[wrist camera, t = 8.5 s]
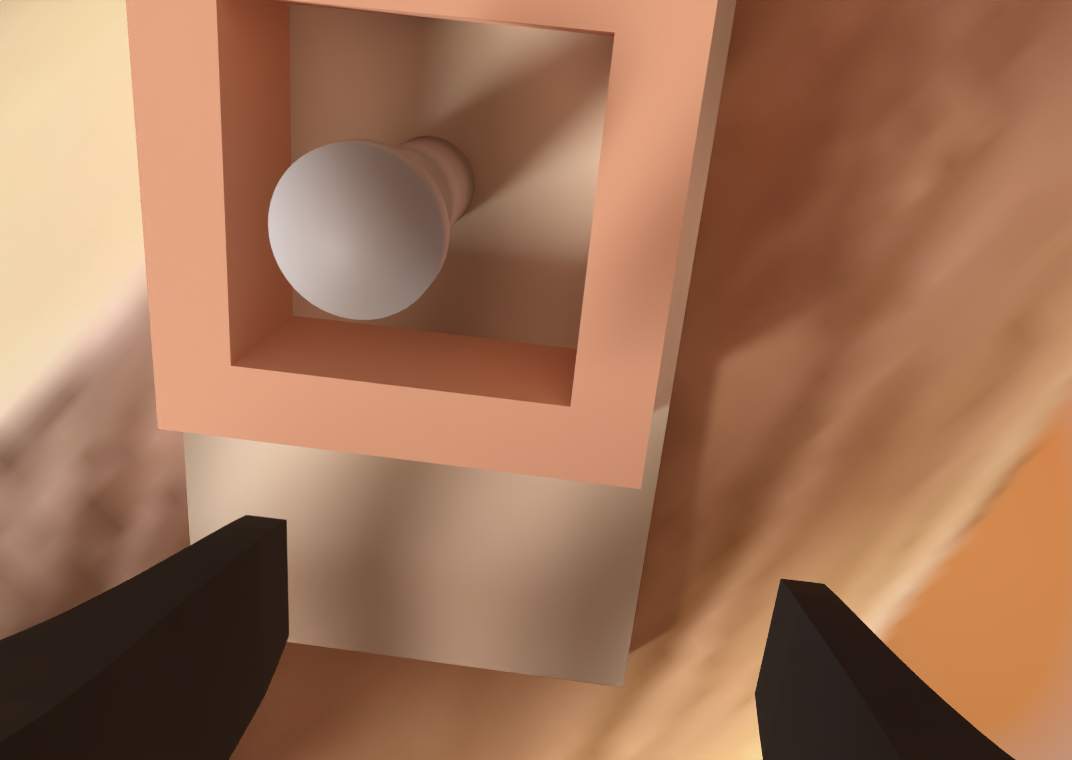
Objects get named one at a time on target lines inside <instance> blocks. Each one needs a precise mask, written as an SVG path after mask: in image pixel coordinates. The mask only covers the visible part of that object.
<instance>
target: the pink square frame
mask: <svg viewBox="0 0 1072 760" xmlns="http://www.w3.org/2000/svg"><path fill="white" fill-rule="evenodd" d="M717 2H718V0H126V9H127V22H128V35H129V49H130V62H131V75H132V89H133V102H134V115H135V128H136V142H137V155H138V168H139V182H140V195H141V208H142V222H143V235H144V248H145V262H146V275H147V288H148V301H149V315H150V328H151V341H152V355H153V368H154V381H155V395H156V408H157V421H158V429H163V430H171V431H179V432H187V433H195V434H203V435H211V436H219V437H227V438H235V439H243V440H251V441H259V442H267V443H275V444H283V445H291V446H299V447H307V448H315V449H323V450H331V451H339V452H347V453H355V454H363V455H371V456H379V457H387V458H395V459H403V460H411V461H419V462H427V463H435V464H443V465H451V466H459V467H467V468H475V469H483V470H491V471H499V472H507V473H516V474H524V475H532V476H540V477H548V478H556V479H564V480H572V481H580V482H588V483H596V484H604V485H612V486H620V487H628V488H636V489H641V484H642V478H643V472H644V465H645V459H646V453H647V446H648V440H649V434H650V427H651V421H652V415H653V408H654V402H655V396H656V389H657V383H658V377H659V370H660V364H661V357H662V351H663V345H664V338H665V332H666V326H667V319H668V313H669V307H670V300H671V294H672V288H673V281H674V275H675V269H676V262H677V256H678V250H679V243H680V237H681V231H682V224H683V218H684V212H685V205H686V199H687V193H688V186H689V180H690V174H691V167H692V161H693V155H694V148H695V142H696V136H697V129H698V123H699V116H700V110H701V104H702V97H703V91H704V85H705V78H706V72H707V66H708V59H709V53H710V47H711V40H712V34H713V28H714V21H715V15H716V9H717ZM289 4H297V5H307V6H317V7H327V8H337V9H347V10H357V11H367V12H377V13H387V14H396V15H406V16H416V17H426V18H436V19H446V20H456V21H466V22H476V23H486V24H496V25H506V26H516V27H526V28H536V29H546V30H556V31H566V32H576V33H586V34H596V35H606V36H614V43H613V52H612V60H611V69H610V77H609V85H608V94H607V102H606V111H605V119H604V128H603V136H602V144H601V153H600V161H599V170H598V178H597V187H596V195H595V203H594V212H593V220H592V229H591V237H590V246H589V254H588V262H587V271H586V279H585V288H584V296H583V305H582V313H581V321H580V330H579V338H578V347H577V349H573V348H565V347H556V346H548V345H539V344H531V343H522V342H514V341H505V340H497V339H488V338H480V337H471V336H463V335H454V334H446V333H437V332H429V331H420V330H412V329H403V328H395V327H386V326H378V325H369V324H361V323H352V322H344V321H335V320H327V319H318V318H310V317H301V316H293V295H292V285H291V284H290V283H289V282H288V280H287V279H286V277H285V276H284V274H283V273H282V271H281V270H280V268H279V266H278V264H277V261H276V259H275V257H274V254H273V251H272V248H271V244H270V239H269V231H268V213H269V208H270V202H271V199H272V196H273V193H274V190H275V188H276V186H277V184H278V182H279V180H280V179H281V177H282V176H283V174H284V173H285V172H286V171H287V169H288V168H289V167H290V166H291V111H290V19H289Z"/></svg>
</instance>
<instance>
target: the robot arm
mask: <svg viewBox="0 0 1072 760" xmlns="http://www.w3.org/2000/svg"><path fill="white" fill-rule="evenodd" d="M288 637H289V604H288V556H287V520H285V519H276V518H268V517H260V516H251V515H245V516H243V517H241V518H239V519H237V520H235V521H233V522H231V523H229V524H227V525H225V526H224V527H222V528H220V529H218V530H216V531H215V532H213V533H211V534H209V535H208V536H206V537H204V538H202V539H201V540H199V541H197V542H195V543H194V544H192V545H190V546H188V547H187V548H185V549H183V550H181V551H180V552H178V553H176V554H174V555H173V556H171V557H169V558H167V559H165V560H164V561H162V562H160V563H158V564H157V565H155V566H153V567H151V568H149V569H148V570H146V571H144V572H142V573H141V574H139V575H137V576H135V577H133V578H131V579H129V580H127V581H126V582H124V583H122V584H120V585H118V586H116V587H114V588H112V589H110V590H108V591H106V592H104V593H102V594H100V595H98V596H96V597H94V598H92V599H90V600H88V601H86V602H84V603H82V604H80V605H79V606H77V607H75V608H73V609H71V610H69V611H66V612H64V613H62V614H60V615H58V616H56V617H54V618H51V619H49V620H47V621H45V622H43V623H40V624H38V625H36V626H34V627H31V628H29V629H26V630H24V631H22V632H19V633H17V634H14V635H12V636H10V637H7V638H5V639H2V640H0V760H229V758H230V756H231V755H232V753H233V751H234V749H235V748H236V746H237V744H238V742H239V741H240V739H241V737H242V735H243V733H244V732H245V730H246V728H247V726H248V725H249V723H250V721H251V719H252V718H253V716H254V714H255V712H256V710H257V709H258V707H259V705H260V703H261V701H262V700H263V698H264V696H265V694H266V691H267V689H268V686H269V684H270V682H271V679H272V677H273V675H274V672H275V670H276V667H277V665H278V662H279V660H280V657H281V655H282V652H283V650H284V647H285V644H286V642H287V639H288ZM755 698H756V707H757V716H758V725H759V733H760V741H761V748H762V756H763V760H1015V759H1014V758H1012V757H1011V756H1010V755H1008V754H1007V753H1006V752H1004V751H1003V750H1002V749H1000V748H999V747H998V746H997V745H996V744H994V743H993V742H992V741H991V740H989V739H988V738H987V737H986V736H984V735H983V734H982V733H981V732H979V731H978V730H977V729H976V728H975V727H974V726H973V725H972V724H970V723H969V722H968V721H967V720H966V719H965V718H964V717H962V716H961V715H960V714H959V713H958V712H957V711H955V710H954V709H953V708H952V707H951V706H950V705H949V704H947V703H946V702H945V701H944V700H943V699H942V698H941V697H940V696H939V695H937V694H936V693H935V692H934V691H933V690H932V689H931V688H930V687H929V686H928V685H926V684H925V683H924V682H923V681H922V680H921V679H920V678H919V677H918V676H917V675H916V674H915V673H914V672H913V671H912V670H910V668H909V667H907V665H906V664H904V663H903V662H902V661H901V660H900V659H899V658H898V657H897V656H896V655H895V654H894V653H893V652H892V651H891V650H890V649H889V648H888V647H887V646H886V645H885V644H884V643H883V642H882V641H881V640H880V639H879V638H878V637H877V636H876V635H875V634H874V633H873V632H872V631H871V630H870V629H869V628H868V627H867V626H866V625H865V624H864V623H863V622H862V621H861V620H860V619H859V618H858V617H857V616H856V614H855V613H854V612H853V611H852V610H851V609H850V608H849V607H848V606H847V605H846V604H845V603H844V602H843V601H842V600H841V599H840V598H839V597H838V596H837V595H835V594H834V593H833V592H832V591H831V590H830V589H829V588H828V587H827V586H826V585H825V584H821V583H813V582H804V581H796V580H787V579H781V580H780V584H779V589H778V593H777V598H776V602H775V607H774V611H773V615H772V620H771V624H770V629H769V633H768V638H767V642H766V647H765V651H764V656H763V660H762V664H761V669H760V673H759V678H758V682H757V687H756V691H755Z"/></svg>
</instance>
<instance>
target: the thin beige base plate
mask: <svg viewBox="0 0 1072 760" xmlns="http://www.w3.org/2000/svg"><path fill="white" fill-rule="evenodd" d="M736 1H737V0H718V2H717V9H716V15H715V21H714V28H713V34H712V40H711V47H710V53H709V59H708V66H707V72H706V78H705V85H704V91H703V97H702V104H701V110H700V116H699V123H698V129H697V136H696V142H695V148H694V155H693V161H692V167H691V174H690V180H689V186H688V193H687V199H686V205H685V212H684V218H683V224H682V231H681V237H680V243H679V250H678V256H677V262H676V269H675V275H674V281H673V288H672V294H671V300H670V307H669V313H668V319H667V326H666V332H665V338H664V345H663V351H662V357H661V364H660V370H659V377H658V383H657V389H656V396H655V402H654V408H653V415H652V421H651V427H650V434H649V440H648V446H647V453H646V459H645V465H644V472H643V478H642V484H641V489H636V488H628V487H620V486H612V485H604V484H596V483H588V482H580V481H572V480H564V479H556V478H548V477H540V476H532V475H524V474H516V473H507V472H499V471H491V470H483V469H475V468H467V467H459V466H451V465H443V464H435V463H427V462H419V461H411V460H403V459H395V458H387V457H379V456H371V455H363V454H355V453H347V452H339V451H331V450H323V449H315V448H307V447H299V446H291V445H283V444H275V443H267V442H259V441H251V440H243V439H235V438H227V437H219V436H211V435H203V434H195V433H187V432H183V437H184V453H185V469H186V485H187V501H188V517H189V533H190V545H192V544H194V543H195V542H197V541H199V540H201V539H202V538H204V537H206V536H208V535H209V534H211V533H213V532H215V531H216V530H218V529H220V528H222V527H224V526H225V525H227V524H229V523H231V522H233V521H235V520H237V519H239V518H241V517H243V516H245V515H251V516H260V517H268V518H276V519H285V520H287V556H288V604H289V637H288V639H287V642H291V643H299V644H306V645H313V646H321V647H328V648H336V649H343V650H350V651H358V652H365V653H372V654H380V655H387V656H394V657H402V658H409V659H416V660H424V661H431V662H438V663H446V664H453V665H461V666H468V667H475V668H483V669H490V670H497V671H505V672H512V673H519V674H527V675H534V676H541V677H549V678H556V679H563V680H571V681H578V682H586V683H593V684H600V685H608V686H615V687H622V688H623V685H624V679H625V673H626V667H627V661H628V654H629V648H630V642H631V636H632V630H633V624H634V618H635V612H636V606H637V600H638V594H639V588H640V582H641V576H642V570H643V564H644V558H645V552H646V546H647V540H648V534H649V527H650V521H651V515H652V509H653V503H654V497H655V491H656V485H657V479H658V473H659V467H660V461H661V455H662V449H663V443H664V437H665V431H666V425H667V419H668V413H669V407H670V400H671V394H672V388H673V382H674V376H675V370H676V364H677V358H678V352H679V346H680V340H681V334H682V328H683V322H684V316H685V310H686V304H687V298H688V292H689V286H690V280H691V274H692V267H693V261H694V255H695V249H696V243H697V237H698V231H699V225H700V219H701V213H702V207H703V201H704V195H705V189H706V183H707V177H708V171H709V165H710V159H711V153H712V147H713V140H714V134H715V128H716V122H717V116H718V110H719V104H720V98H721V92H722V86H723V80H724V74H725V68H726V62H727V56H728V50H729V44H730V38H731V32H732V26H733V20H734V13H735V7H736ZM289 19H290V111H291V166H290V167H289V168H288V169H287V171H286V172H285V173H284V174H283V176H282V177H281V179H280V180H279V182H278V184H277V186H276V188H275V190H274V193H273V196H272V199H271V202H270V208H269V213H268V231H269V239H270V244H271V248H272V251H273V254H274V257H275V259H276V261H277V264H278V266H279V268H280V270H281V271H282V273H283V274H284V276H285V277H286V279H287V280H288V282H289V283H290V284H291V285H292V295H293V316H301V317H310V318H318V319H327V320H335V321H344V322H352V323H361V324H369V325H378V326H386V327H395V328H403V329H412V330H420V331H429V332H437V333H446V334H454V335H463V336H471V337H480V338H488V339H497V340H505V341H514V342H522V343H531V344H539V345H548V346H556V347H565V348H573V349H577V347H578V338H579V330H580V321H581V313H582V305H583V296H584V288H585V279H586V271H587V262H588V254H589V246H590V237H591V229H592V220H593V212H594V203H595V195H596V187H597V178H598V170H599V161H600V153H601V144H602V136H603V128H604V119H605V111H606V102H607V94H608V85H609V77H610V69H611V60H612V52H613V43H614V36H606V35H596V34H586V33H576V32H566V31H556V30H546V29H536V28H526V27H516V26H506V25H496V24H486V23H476V22H466V21H456V20H446V19H436V18H426V17H416V16H406V15H396V14H387V13H377V12H367V11H357V10H347V9H337V8H327V7H317V6H307V5H297V4H289Z"/></svg>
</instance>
